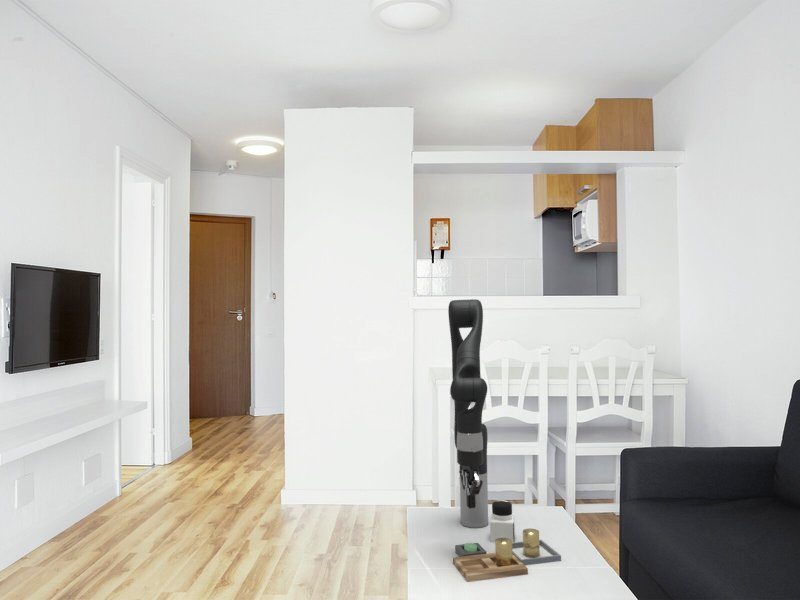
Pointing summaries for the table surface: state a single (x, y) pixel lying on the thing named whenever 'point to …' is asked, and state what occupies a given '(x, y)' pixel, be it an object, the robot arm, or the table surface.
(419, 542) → the table surface
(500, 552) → the cylinder
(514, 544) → the tray
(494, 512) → the medicine bottle
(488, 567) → the tray
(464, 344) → the robot arm
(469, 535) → the table surface
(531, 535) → the cylinder
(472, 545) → the button
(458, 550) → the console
